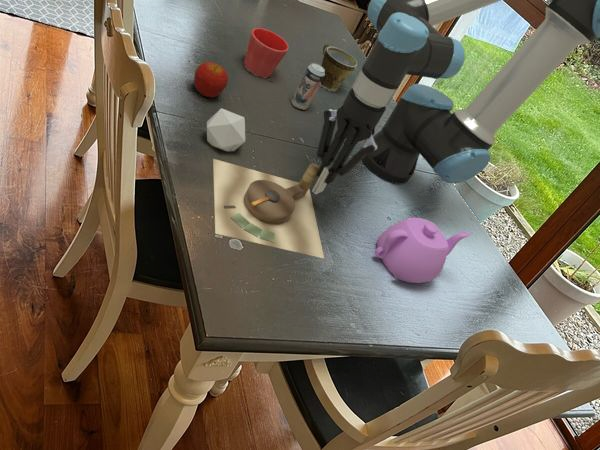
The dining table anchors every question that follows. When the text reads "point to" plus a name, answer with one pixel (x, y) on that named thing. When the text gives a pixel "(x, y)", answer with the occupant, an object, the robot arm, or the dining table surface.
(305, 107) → the beer can
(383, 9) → the robot arm
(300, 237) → the board
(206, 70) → the apple
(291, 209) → the dial
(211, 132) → the die
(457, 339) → the dining table surface
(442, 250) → the teapot
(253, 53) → the flower pot
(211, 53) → the dining table surface
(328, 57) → the ceramic cup
